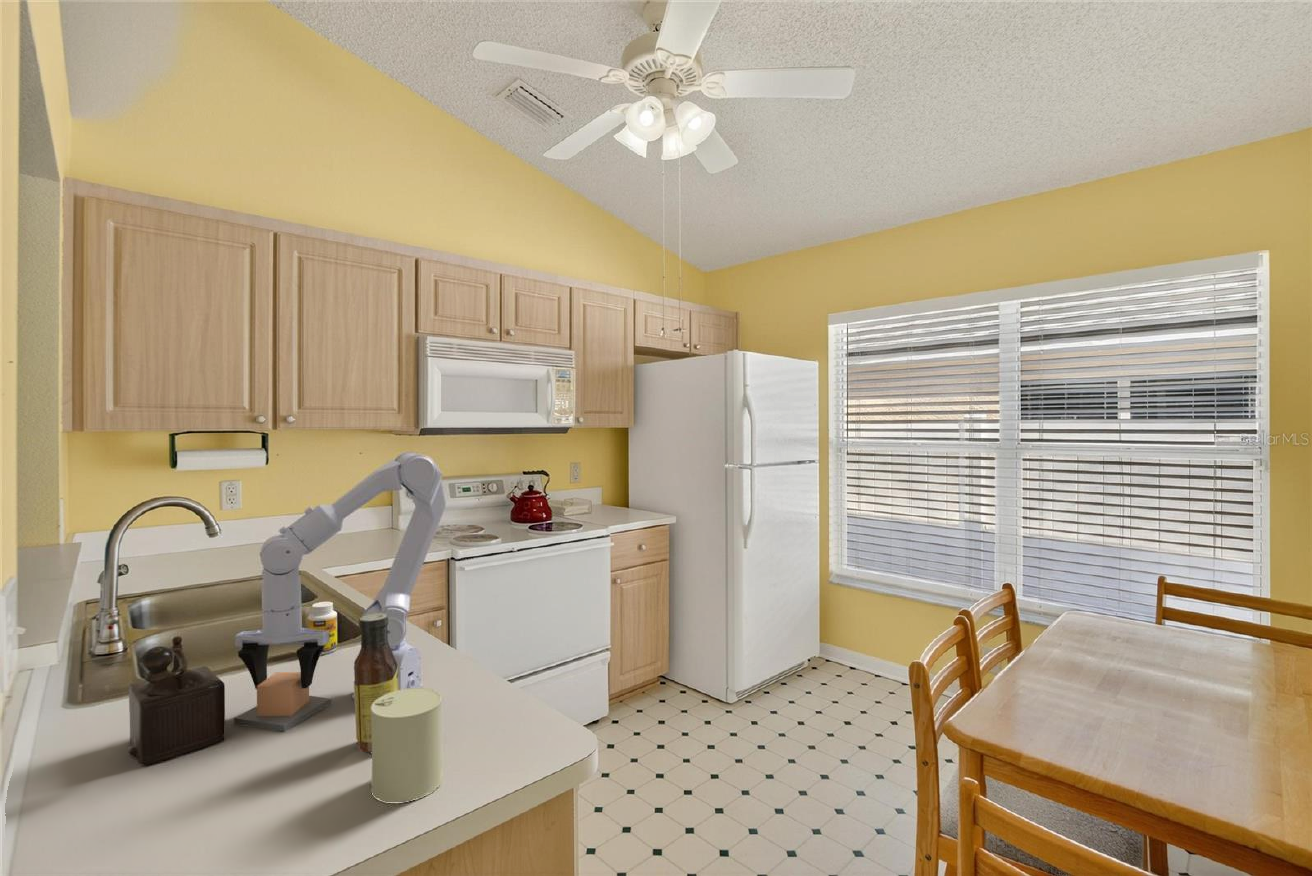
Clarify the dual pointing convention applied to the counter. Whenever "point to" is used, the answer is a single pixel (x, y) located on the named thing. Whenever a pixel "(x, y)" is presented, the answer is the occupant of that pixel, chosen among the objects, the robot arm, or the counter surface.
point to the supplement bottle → (324, 623)
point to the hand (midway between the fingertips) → (283, 686)
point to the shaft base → (282, 721)
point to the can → (406, 744)
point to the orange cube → (281, 694)
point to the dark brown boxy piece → (174, 707)
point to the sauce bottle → (372, 674)
